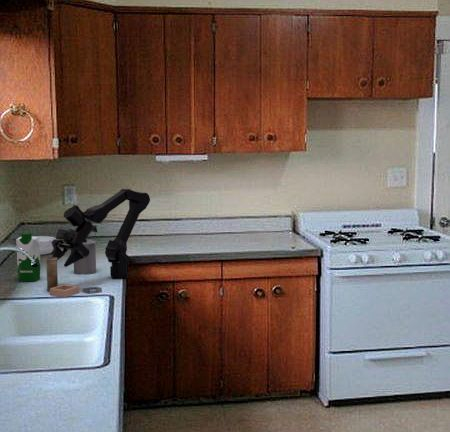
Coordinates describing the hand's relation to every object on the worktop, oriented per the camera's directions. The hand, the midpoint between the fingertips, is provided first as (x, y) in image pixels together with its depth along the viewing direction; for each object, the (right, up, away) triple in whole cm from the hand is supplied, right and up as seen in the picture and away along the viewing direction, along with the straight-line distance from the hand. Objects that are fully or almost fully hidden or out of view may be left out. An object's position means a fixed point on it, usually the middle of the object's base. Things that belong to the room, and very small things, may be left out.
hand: (57, 264), depth 254 cm
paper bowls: (-29, 0, +82) cm, 87 cm away
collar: (+4, -11, -6) cm, 13 cm away
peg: (-2, -10, -1) cm, 10 cm away
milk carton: (-17, -8, +19) cm, 27 cm away
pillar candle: (+3, -6, +34) cm, 35 cm away
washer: (+14, -10, -1) cm, 17 cm away
